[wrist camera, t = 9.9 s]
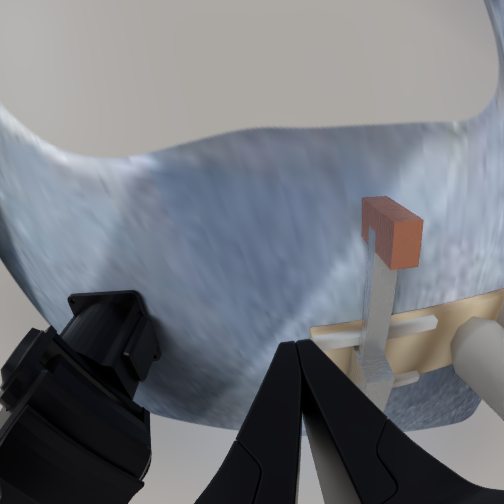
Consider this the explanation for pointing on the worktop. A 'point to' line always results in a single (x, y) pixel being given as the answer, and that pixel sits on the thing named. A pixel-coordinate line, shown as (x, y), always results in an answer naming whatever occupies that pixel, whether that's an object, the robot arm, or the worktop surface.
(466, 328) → the salt shaker
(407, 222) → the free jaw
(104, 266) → the worktop surface
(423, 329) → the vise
